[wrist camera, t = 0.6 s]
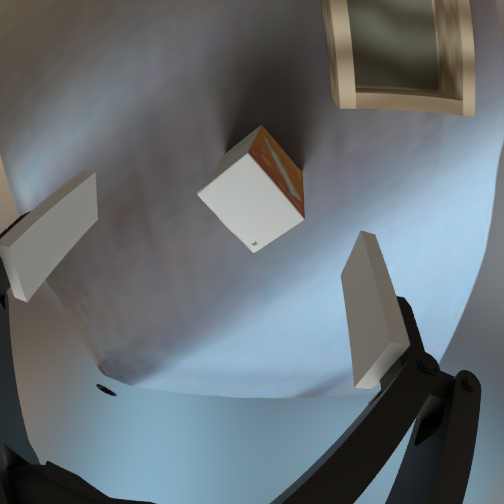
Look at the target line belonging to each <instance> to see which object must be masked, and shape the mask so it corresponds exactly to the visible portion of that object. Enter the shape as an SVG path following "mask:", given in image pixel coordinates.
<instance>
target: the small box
mask: <svg viewBox="0 0 504 504" xmlns="http://www.w3.org/2000/svg"><path fill="white" fill-rule="evenodd" d="M197 194H198V196H199V197H200V198H201V199H202V200H203V201H204V202H205V203H206V205H207V206H208V207H209V208H210V209H211V210H212V211H213V212H214V213H215V214H216V215H217V216H218V217H219V219H220V220H221V221H222V222H223V223H224V224H225V225H226V226H227V228H228V229H230V230H231V231H232V232H233V233H234V234H235V235H236V236H237V237H238V238H239V239H240V240H241V241H242V242H243V243H244V244H245V245H246V246H247V247H248V248H249V249H250V250H251V251H252V252H253V253H255V252H257V251H258V250H259V249H261V248H262V247H264V246H265V245H267V244H268V243H270V242H271V241H273V240H274V239H276V238H278V237H279V236H281V235H282V234H284V233H285V232H286V231H288V230H290V229H291V228H293V227H294V226H296V225H297V224H299V223H300V222H302V221H303V220H305V213H304V191H303V173H302V171H301V170H300V169H299V168H298V167H297V165H296V164H295V163H294V162H293V161H292V160H291V158H290V157H289V156H288V155H287V154H286V153H285V151H284V150H283V149H282V148H281V147H280V145H279V144H278V143H277V142H276V141H275V139H274V138H273V137H272V136H271V135H270V134H269V132H268V131H267V130H266V129H265V128H264V126H263V125H260V126H259V127H258V128H256V129H255V130H254V131H253V132H251V133H250V134H249V135H248V136H246V137H245V138H244V139H243V140H241V141H240V142H239V143H238V144H236V145H235V146H234V147H233V148H232V149H230V150H229V151H228V152H227V153H225V154H224V156H223V157H222V158H221V160H220V161H219V162H218V164H217V165H216V167H215V168H214V170H213V171H212V173H211V174H210V175H209V177H208V178H207V180H206V181H205V183H204V184H203V185H202V187H201V188H200V190H199V191H198V192H197Z"/></svg>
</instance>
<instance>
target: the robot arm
mask: <svg viewBox="0 0 504 504" xmlns="http://www.w3.org/2000/svg"><path fill="white" fill-rule="evenodd" d="M97 220H98V213H97V195H96V172H91V171H85V170H83V171H82V172H80V173H79V174H78V175H76V176H75V177H74V178H72V179H71V180H70V181H68V182H67V183H66V184H64V185H63V186H62V187H60V188H59V189H58V190H57V191H55V192H54V193H53V194H52V195H50V196H49V197H48V198H47V199H45V200H44V201H43V202H42V203H41V204H39V205H38V206H37V207H36V208H35V209H33V210H32V211H30V212H28V213H26V214H24V215H22V216H20V217H19V218H18V219H17V220H16V221H15V222H14V223H13V224H11V225H10V226H9V227H8V229H6V230H5V231H3V232H2V233H1V234H0V504H155V503H152V502H144V501H133V500H123V499H115V498H110V497H108V496H106V495H105V494H103V493H102V492H100V491H99V490H97V489H96V488H95V487H93V486H92V485H90V484H89V483H87V482H86V481H85V480H83V479H82V478H81V477H79V476H78V475H76V474H74V473H72V472H70V471H67V470H65V469H63V468H61V467H59V466H57V465H55V464H53V463H51V462H49V461H47V462H46V465H40V462H39V460H38V457H37V455H36V453H35V452H34V450H33V448H32V446H31V445H30V442H29V440H28V436H27V433H26V429H25V425H24V420H23V417H22V411H21V406H20V401H19V396H18V391H17V385H16V379H15V372H14V365H13V357H12V349H11V337H10V324H9V304H8V295H7V293H6V291H7V290H8V289H9V288H10V287H11V288H12V291H13V294H14V297H16V298H18V299H20V300H23V301H25V302H28V301H29V299H30V298H31V296H32V295H33V294H34V293H35V291H36V290H37V289H38V288H39V286H40V285H41V284H42V283H43V281H44V280H45V279H46V278H47V276H48V275H49V274H50V273H51V272H52V270H53V269H54V268H55V267H56V266H57V264H58V263H59V262H60V261H61V260H62V258H63V257H64V256H65V255H66V254H67V253H68V252H69V250H70V249H71V248H72V247H73V246H74V245H75V244H76V242H77V241H78V240H79V239H80V238H81V237H82V236H83V235H84V234H85V233H86V231H87V230H88V229H89V228H90V227H91V226H92V225H93V224H94V223H95V222H96V221H97ZM341 280H342V287H343V293H344V300H345V307H346V315H347V322H348V330H349V339H350V347H351V356H352V366H353V376H354V387H356V388H366V389H373V388H374V387H375V386H376V385H377V383H378V382H379V381H380V384H381V390H380V391H379V392H378V394H377V395H376V396H375V397H374V398H373V399H372V400H371V401H370V402H369V403H368V404H369V405H368V406H367V407H366V408H365V409H364V411H363V412H362V413H361V414H360V415H359V416H358V418H357V419H356V420H355V421H354V422H353V423H352V424H351V426H350V427H349V428H348V429H347V430H346V431H345V432H344V433H343V435H342V436H341V437H340V438H339V439H338V440H337V441H336V442H335V443H334V444H333V445H332V446H331V447H330V448H329V449H328V450H327V451H326V452H325V453H324V455H322V456H321V458H319V459H318V460H317V461H316V462H315V463H314V464H313V465H312V466H311V467H310V468H309V469H308V470H307V471H306V472H305V473H304V474H303V475H302V476H301V477H300V478H299V479H298V480H296V481H295V482H294V483H293V484H292V485H291V486H290V487H289V488H287V489H286V490H285V491H284V492H283V493H282V494H281V495H279V496H278V497H277V498H276V499H275V500H274V501H272V502H271V503H270V504H353V503H354V502H355V501H356V500H357V499H358V497H359V496H360V495H361V494H362V493H363V492H364V490H365V489H366V488H367V487H368V485H369V484H370V483H371V482H372V480H373V479H374V478H375V477H376V475H377V474H378V473H379V471H380V470H381V469H382V467H383V466H384V465H385V463H386V462H387V460H388V459H389V458H390V456H391V455H392V453H393V452H394V451H395V449H396V448H397V446H398V445H399V443H400V442H401V440H402V439H403V437H404V436H405V434H406V433H407V431H408V429H409V428H410V426H411V425H412V423H413V422H414V420H415V418H416V421H415V424H414V427H413V431H412V434H411V437H410V440H409V443H408V446H407V449H406V452H405V455H404V458H403V460H402V463H401V466H400V469H399V471H398V474H397V476H396V479H395V482H394V484H393V487H392V489H391V491H390V494H389V496H388V499H387V501H386V503H385V504H462V503H463V499H464V496H465V492H466V488H467V484H468V479H469V474H470V470H471V465H472V460H473V454H474V448H475V442H476V436H477V429H478V421H479V412H480V401H481V385H480V382H479V380H478V379H477V378H476V376H475V375H474V374H473V373H471V372H470V371H467V370H461V371H460V372H459V373H458V374H457V375H456V376H455V377H454V376H451V375H449V374H447V373H444V372H442V371H440V368H439V365H438V363H437V361H436V360H435V359H434V358H433V357H432V356H431V355H430V354H428V353H426V352H425V350H424V347H423V343H422V340H421V336H420V333H419V330H418V327H417V326H416V325H417V323H416V320H415V318H414V314H413V311H412V308H411V306H410V305H409V303H408V302H407V301H406V299H405V298H404V297H399V296H396V294H395V291H394V288H393V285H392V282H391V279H390V276H389V273H388V270H387V267H386V264H385V261H384V258H383V255H382V252H381V250H380V247H379V244H378V241H377V239H376V236H375V235H374V234H371V233H367V232H364V231H360V233H359V236H358V238H357V240H356V243H355V245H354V247H353V249H352V252H351V254H350V256H349V258H348V261H347V263H346V265H345V267H344V269H343V271H342V274H341Z"/></svg>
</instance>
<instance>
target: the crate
mask: <svg viewBox="0 0 504 504" xmlns="http://www.w3.org/2000/svg"><path fill="white" fill-rule="evenodd" d="M321 1H322V9H323V16H324V24H325V32H326V41H327V50H328V61H329V71H330V83H331V97H332V101H333V102H334V103H335V104H336V105H337V106H338V107H339V108H340V109H392V110H411V111H425V112H436V113H446V114H456V115H464V116H471V117H475V54H474V39H473V28H472V19H471V10H470V3H469V0H321Z"/></svg>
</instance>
